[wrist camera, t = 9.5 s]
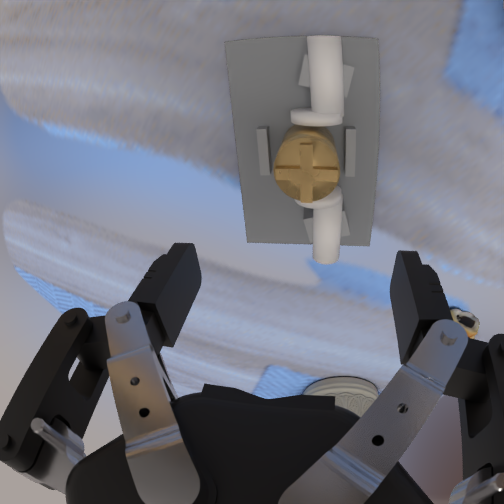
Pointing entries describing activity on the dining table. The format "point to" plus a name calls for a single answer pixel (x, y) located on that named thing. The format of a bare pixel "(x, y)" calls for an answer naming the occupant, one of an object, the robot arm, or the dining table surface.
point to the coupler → (307, 163)
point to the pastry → (466, 321)
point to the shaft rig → (307, 114)
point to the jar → (346, 392)
